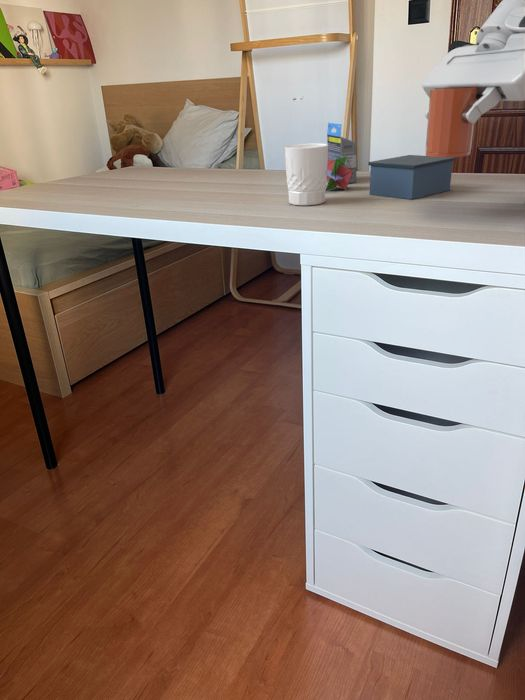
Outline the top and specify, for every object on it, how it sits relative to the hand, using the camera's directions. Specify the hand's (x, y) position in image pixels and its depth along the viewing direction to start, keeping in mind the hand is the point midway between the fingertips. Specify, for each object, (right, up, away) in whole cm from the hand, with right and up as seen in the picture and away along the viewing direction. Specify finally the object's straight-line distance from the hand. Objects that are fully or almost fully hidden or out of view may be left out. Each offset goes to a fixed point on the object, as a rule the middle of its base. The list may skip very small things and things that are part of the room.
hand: (447, 119), depth 77 cm
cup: (+1, -4, +2) cm, 5 cm away
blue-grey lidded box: (+2, -3, +26) cm, 26 cm away
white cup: (-19, -6, +22) cm, 29 cm away
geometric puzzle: (-12, -1, +33) cm, 35 cm away
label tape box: (-9, +4, +42) cm, 44 cm away
